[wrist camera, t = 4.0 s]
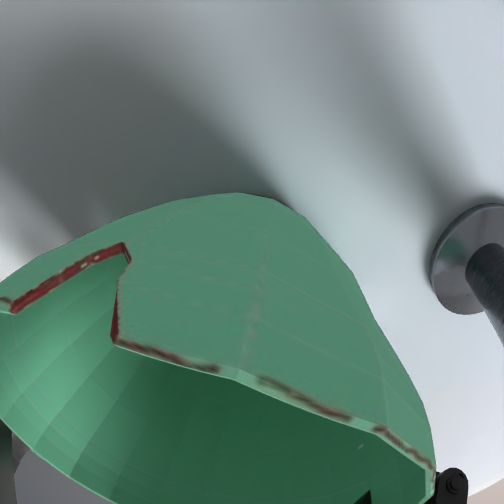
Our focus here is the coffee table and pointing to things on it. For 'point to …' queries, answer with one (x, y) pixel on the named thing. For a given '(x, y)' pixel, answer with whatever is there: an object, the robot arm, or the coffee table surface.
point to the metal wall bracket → (472, 265)
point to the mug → (209, 364)
